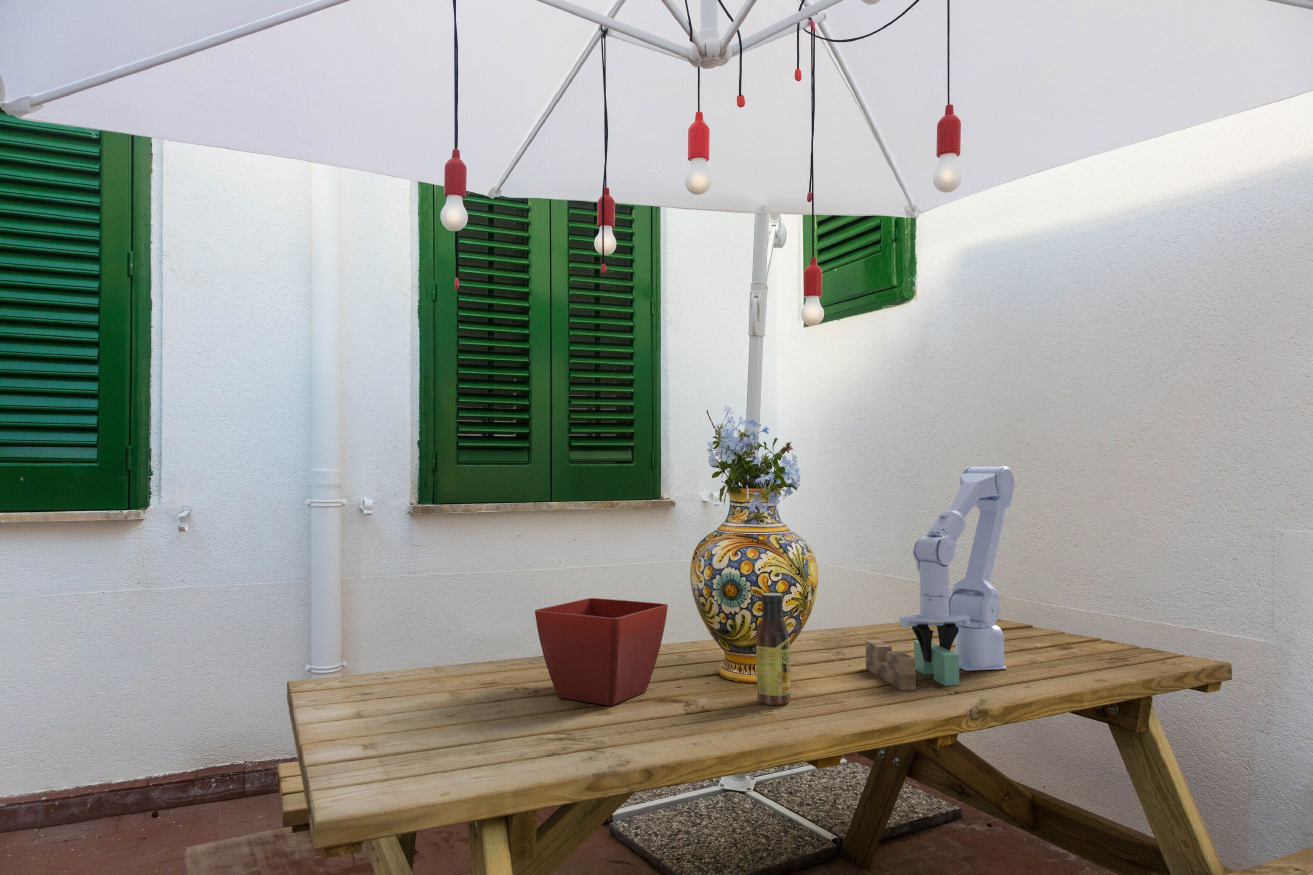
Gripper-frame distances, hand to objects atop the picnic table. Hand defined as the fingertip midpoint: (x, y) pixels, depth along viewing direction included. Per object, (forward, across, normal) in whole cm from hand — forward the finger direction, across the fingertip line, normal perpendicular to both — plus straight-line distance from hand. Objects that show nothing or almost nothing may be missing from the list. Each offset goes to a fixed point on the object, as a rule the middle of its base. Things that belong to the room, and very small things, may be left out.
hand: (935, 660), depth 174 cm
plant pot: (+3, +69, +3) cm, 69 cm away
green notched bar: (+3, 0, 0) cm, 3 cm away
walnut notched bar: (+3, +10, 0) cm, 10 cm away
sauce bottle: (+3, +38, +13) cm, 40 cm away
